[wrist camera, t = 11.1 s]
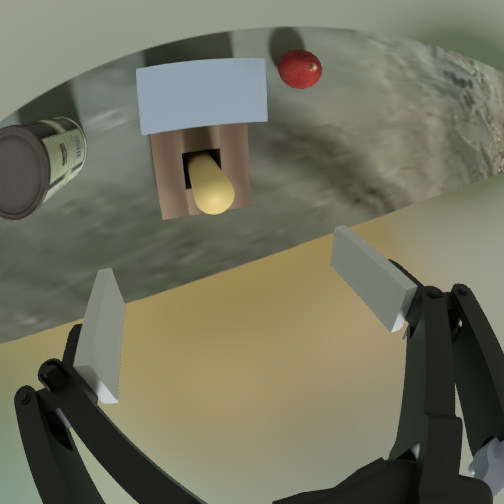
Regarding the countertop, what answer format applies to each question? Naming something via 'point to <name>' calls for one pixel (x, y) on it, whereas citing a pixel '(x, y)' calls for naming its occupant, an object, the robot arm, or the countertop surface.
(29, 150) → the coffee can
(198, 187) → the peg
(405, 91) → the countertop surface
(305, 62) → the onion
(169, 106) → the light blue box
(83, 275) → the countertop surface
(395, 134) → the countertop surface
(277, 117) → the countertop surface
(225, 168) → the socket block
